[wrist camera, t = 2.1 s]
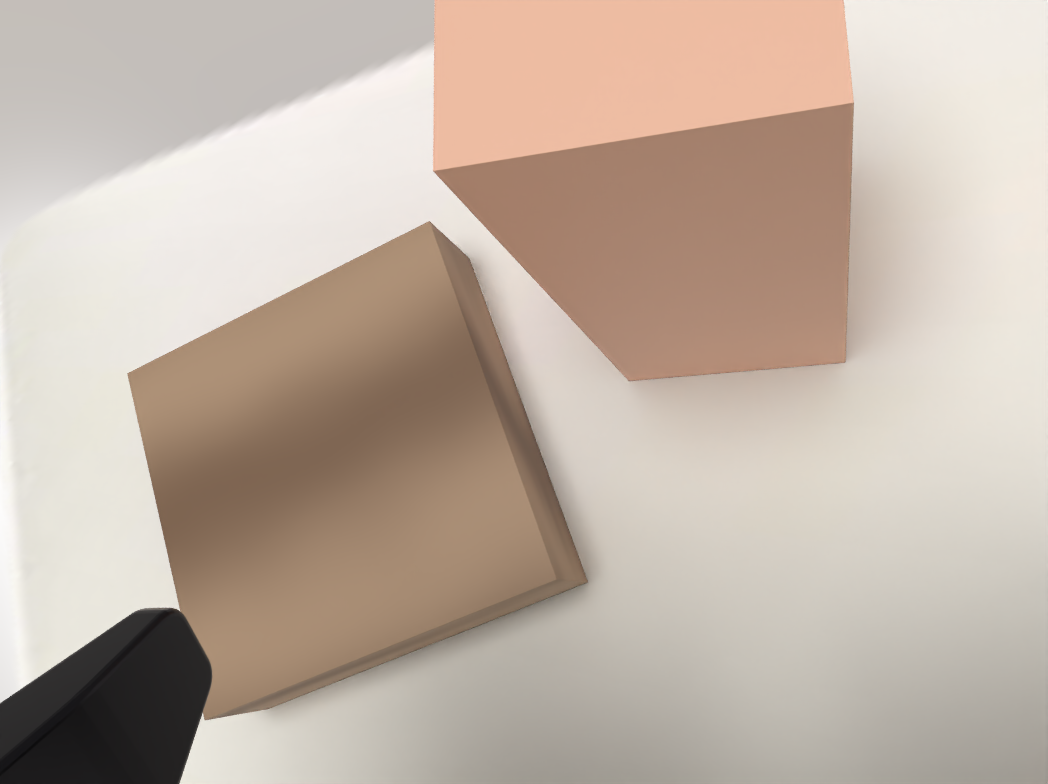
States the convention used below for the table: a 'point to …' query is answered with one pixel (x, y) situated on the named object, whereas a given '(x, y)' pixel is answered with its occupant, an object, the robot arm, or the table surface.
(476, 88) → the terracotta block
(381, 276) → the walnut slab
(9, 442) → the table surface
